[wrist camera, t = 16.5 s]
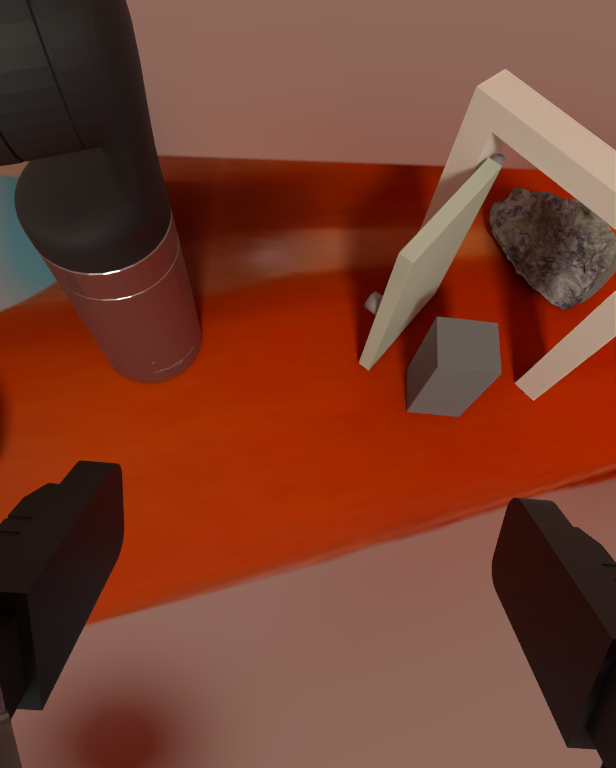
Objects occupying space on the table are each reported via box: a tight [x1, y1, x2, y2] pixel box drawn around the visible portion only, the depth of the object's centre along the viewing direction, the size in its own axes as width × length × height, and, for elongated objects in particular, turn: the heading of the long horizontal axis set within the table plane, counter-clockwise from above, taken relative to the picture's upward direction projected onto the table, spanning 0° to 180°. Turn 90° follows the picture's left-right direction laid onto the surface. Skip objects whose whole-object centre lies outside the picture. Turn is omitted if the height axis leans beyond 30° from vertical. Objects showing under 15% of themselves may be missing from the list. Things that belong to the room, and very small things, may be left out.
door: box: [359, 154, 505, 371], centre depth 45 cm, size 13×3×17 cm, turn 141°
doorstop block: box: [407, 317, 501, 417], centre depth 46 cm, size 4×5×10 cm
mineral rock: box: [489, 188, 616, 309], centre depth 53 cm, size 13×11×10 cm
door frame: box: [420, 69, 616, 401], centre depth 43 cm, size 18×3×22 cm, turn 41°
